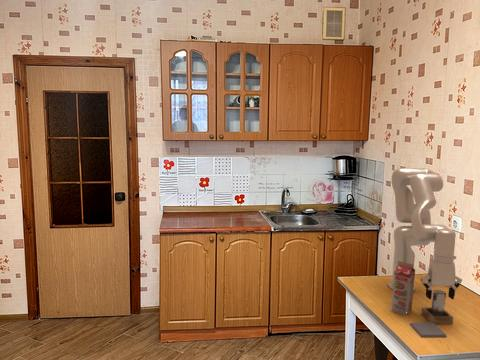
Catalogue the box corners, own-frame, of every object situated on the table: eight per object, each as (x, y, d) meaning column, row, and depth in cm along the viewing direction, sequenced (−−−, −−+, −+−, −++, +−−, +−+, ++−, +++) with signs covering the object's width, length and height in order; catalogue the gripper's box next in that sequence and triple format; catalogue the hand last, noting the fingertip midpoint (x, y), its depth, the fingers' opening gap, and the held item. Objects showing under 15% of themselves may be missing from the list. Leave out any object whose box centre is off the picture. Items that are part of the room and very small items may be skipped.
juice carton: (396, 305, 196) (400, 259, 193) (411, 310, 192) (415, 262, 189) (391, 310, 191) (395, 262, 188) (406, 315, 187) (410, 266, 184)
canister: (428, 316, 187) (430, 289, 185) (439, 316, 187) (442, 289, 185) (433, 321, 182) (436, 294, 180) (445, 321, 182) (448, 294, 181)
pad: (409, 324, 179) (410, 322, 179) (433, 324, 180) (433, 322, 179) (421, 337, 169) (421, 334, 169) (446, 337, 170) (446, 334, 170)
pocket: (421, 314, 189) (422, 307, 188) (441, 314, 189) (442, 307, 189) (431, 324, 180) (432, 317, 180) (452, 324, 181) (453, 317, 180)
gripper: (458, 256, 185) (454, 294, 187) (418, 255, 184) (415, 294, 186) (468, 261, 177) (464, 301, 179) (427, 261, 176) (424, 301, 178)
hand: (439, 298), depth 183 cm, fingers open, 9 cm apart
